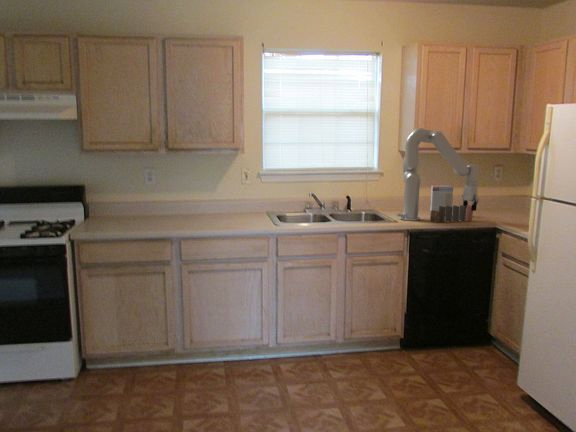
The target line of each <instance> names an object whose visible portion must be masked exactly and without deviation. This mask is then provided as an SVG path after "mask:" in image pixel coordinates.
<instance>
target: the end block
mask: <svg viewBox="0 0 576 432" xmlns="http://www.w3.org/2000/svg"><path fill="white" fill-rule="evenodd" d="M439 215H440V212H438V211H435V210H431V215H430V217H429V218H430V220H429V221H430V222H431V223H434V224H439V223H440V221H439Z"/></svg>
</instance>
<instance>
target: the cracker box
mask: <svg viewBox="0 0 576 432" xmlns="http://www.w3.org/2000/svg"><path fill="white" fill-rule="evenodd" d="M430 190H431V191H430V207H429V208H430V209H429V210H430V212H429V214H430V216H431V210H435V211H438V212H439V206H444V207H446V206H451V207H453V200H454V199H453V198H454V196H453V195H454V186H453V185H440V184H439V185H436V184H435V185H433V184H432V185H431V189H430ZM445 217H446V209H445Z"/></svg>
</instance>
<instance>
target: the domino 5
mask: <svg viewBox="0 0 576 432" xmlns="http://www.w3.org/2000/svg"><path fill="white" fill-rule="evenodd" d="M471 208H472V205H469V204H468V205H467V208H466V219H465V221H467V220H468V221H467V222H473V215H474V214H473V213H474V211H472V210H471Z"/></svg>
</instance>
